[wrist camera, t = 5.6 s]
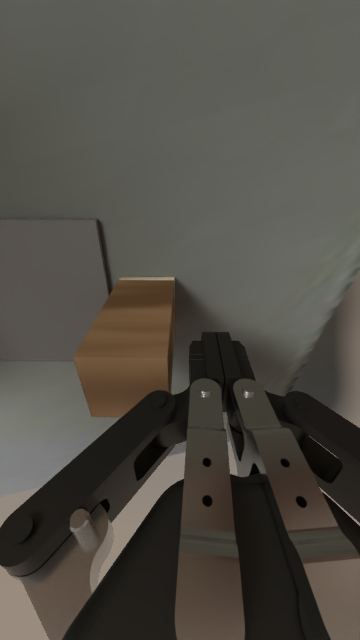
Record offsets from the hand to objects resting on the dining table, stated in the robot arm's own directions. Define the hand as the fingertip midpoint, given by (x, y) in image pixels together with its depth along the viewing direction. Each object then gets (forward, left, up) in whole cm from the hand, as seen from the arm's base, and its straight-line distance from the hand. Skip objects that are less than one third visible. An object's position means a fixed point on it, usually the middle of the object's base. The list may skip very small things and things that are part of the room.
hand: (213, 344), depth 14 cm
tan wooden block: (0, -4, -6) cm, 7 cm away
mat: (0, -13, -6) cm, 15 cm away
